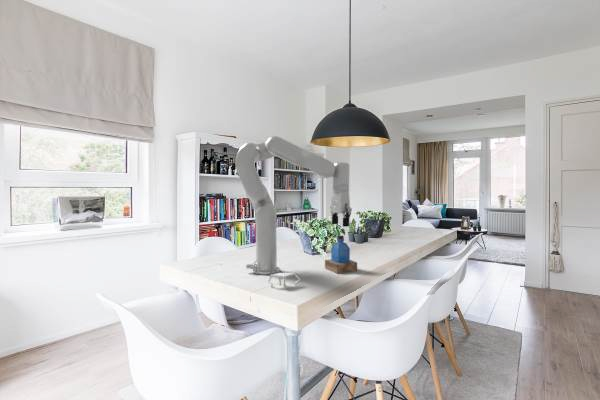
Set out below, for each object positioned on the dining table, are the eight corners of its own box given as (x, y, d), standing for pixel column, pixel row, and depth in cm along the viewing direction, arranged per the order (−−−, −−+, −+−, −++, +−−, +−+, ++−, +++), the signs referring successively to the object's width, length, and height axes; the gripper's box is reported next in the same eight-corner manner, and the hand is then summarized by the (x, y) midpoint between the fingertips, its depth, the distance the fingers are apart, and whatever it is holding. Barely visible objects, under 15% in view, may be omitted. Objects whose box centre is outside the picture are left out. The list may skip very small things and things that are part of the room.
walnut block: (336, 273, 150) (336, 264, 150) (325, 268, 160) (325, 259, 160) (357, 270, 155) (357, 262, 155) (344, 265, 165) (344, 257, 165)
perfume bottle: (338, 263, 153) (338, 237, 153) (331, 260, 159) (331, 235, 158) (349, 261, 156) (349, 236, 155) (342, 259, 161) (342, 234, 161)
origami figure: (276, 291, 125) (276, 278, 125) (267, 286, 132) (267, 273, 132) (304, 286, 131) (303, 274, 131) (293, 281, 138) (293, 269, 138)
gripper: (324, 188, 162) (324, 223, 163) (343, 189, 146) (343, 227, 147) (338, 188, 165) (337, 223, 166) (358, 189, 150) (357, 227, 150)
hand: (340, 225), depth 157 cm, fingers open, 9 cm apart
